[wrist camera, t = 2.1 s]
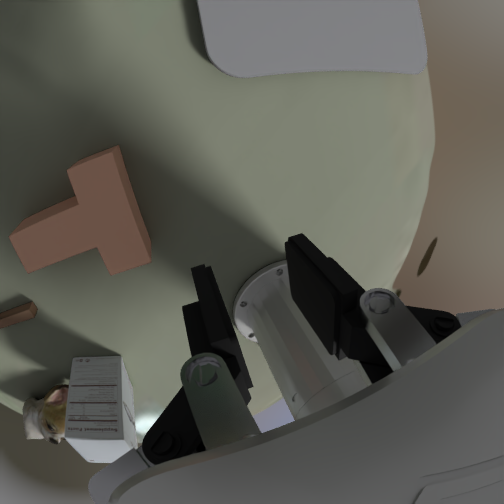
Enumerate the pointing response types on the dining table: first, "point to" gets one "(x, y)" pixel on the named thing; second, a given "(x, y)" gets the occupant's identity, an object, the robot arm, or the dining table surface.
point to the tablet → (312, 36)
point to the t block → (88, 220)
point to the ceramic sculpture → (46, 415)
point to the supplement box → (100, 409)
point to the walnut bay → (18, 314)
